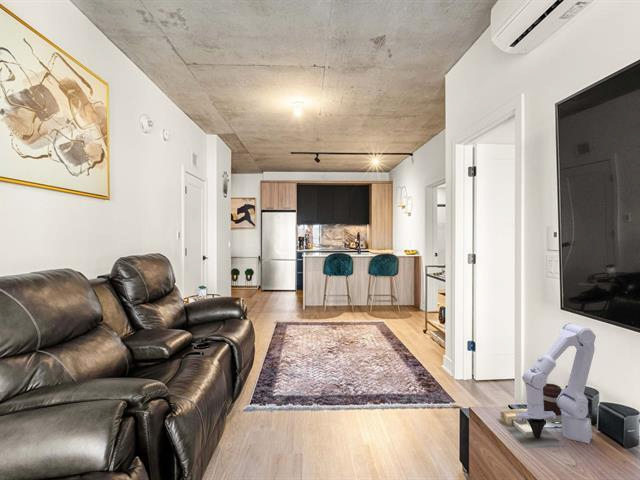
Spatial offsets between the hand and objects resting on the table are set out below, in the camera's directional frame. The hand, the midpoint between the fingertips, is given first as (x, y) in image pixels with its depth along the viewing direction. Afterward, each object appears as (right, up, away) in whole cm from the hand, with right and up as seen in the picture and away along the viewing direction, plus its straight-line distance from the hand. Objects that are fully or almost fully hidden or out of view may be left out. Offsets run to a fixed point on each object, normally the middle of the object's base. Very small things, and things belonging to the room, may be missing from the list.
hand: (536, 437), depth 144 cm
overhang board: (0, -2, +6) cm, 6 cm away
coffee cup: (+16, -1, +15) cm, 22 cm away
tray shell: (0, -1, +7) cm, 7 cm away
